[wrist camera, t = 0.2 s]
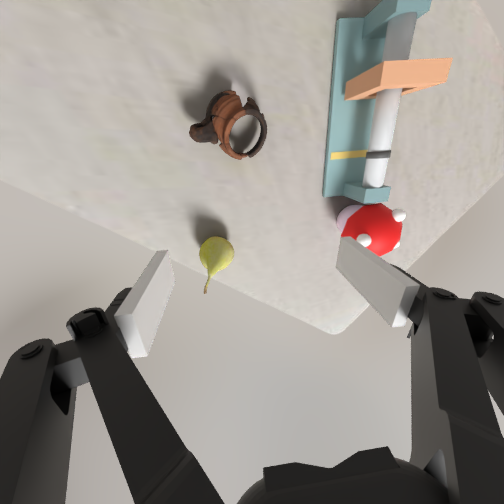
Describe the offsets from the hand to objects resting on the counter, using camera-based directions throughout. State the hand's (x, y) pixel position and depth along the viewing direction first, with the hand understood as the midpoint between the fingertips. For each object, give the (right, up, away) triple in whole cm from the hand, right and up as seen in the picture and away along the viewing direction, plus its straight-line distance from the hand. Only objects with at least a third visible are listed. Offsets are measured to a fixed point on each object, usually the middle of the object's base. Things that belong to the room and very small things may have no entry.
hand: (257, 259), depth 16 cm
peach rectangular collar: (+19, +27, +18) cm, 38 cm away
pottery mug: (-5, +22, +20) cm, 30 cm away
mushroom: (+21, +8, +30) cm, 38 cm away
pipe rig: (+19, +24, +22) cm, 38 cm away
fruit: (-8, +1, +30) cm, 31 cm away
